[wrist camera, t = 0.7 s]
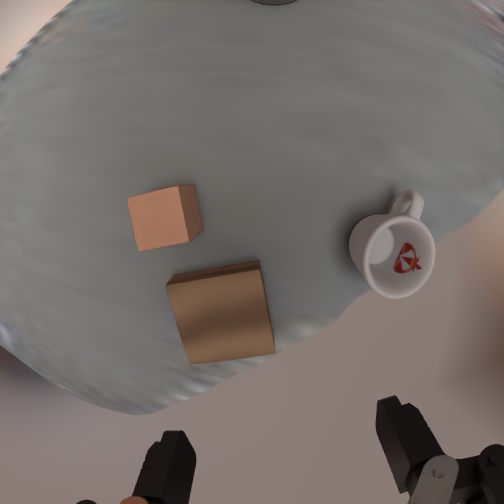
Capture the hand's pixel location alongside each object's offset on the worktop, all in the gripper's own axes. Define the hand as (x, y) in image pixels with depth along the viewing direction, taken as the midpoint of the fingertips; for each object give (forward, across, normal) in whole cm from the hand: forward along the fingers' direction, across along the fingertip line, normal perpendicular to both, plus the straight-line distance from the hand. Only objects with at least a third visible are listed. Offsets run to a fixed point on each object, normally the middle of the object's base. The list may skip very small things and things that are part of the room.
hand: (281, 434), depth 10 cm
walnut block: (+24, +6, +4) cm, 25 cm away
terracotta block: (+24, +8, -8) cm, 27 cm away
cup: (+24, -13, -1) cm, 28 cm away
